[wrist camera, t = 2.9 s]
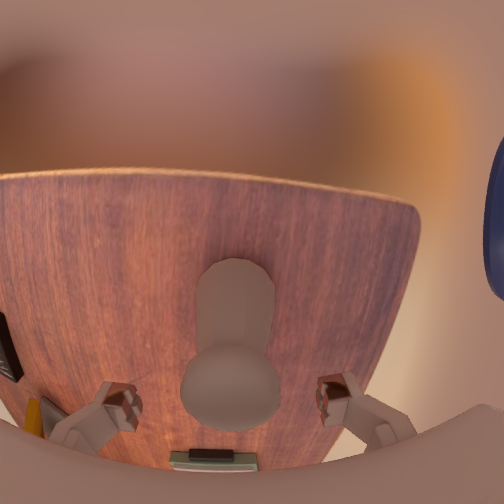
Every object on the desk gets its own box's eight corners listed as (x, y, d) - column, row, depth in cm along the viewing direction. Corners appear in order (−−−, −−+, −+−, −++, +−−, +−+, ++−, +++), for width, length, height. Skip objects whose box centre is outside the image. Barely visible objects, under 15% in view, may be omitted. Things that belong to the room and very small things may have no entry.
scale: (255, 448, 29) (256, 465, 27) (260, 482, 33) (260, 495, 31) (168, 447, 29) (165, 462, 27) (190, 481, 33) (188, 494, 31)
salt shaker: (256, 323, 23) (267, 455, 11) (192, 302, 22) (151, 429, 10) (283, 262, 21) (328, 380, 9) (213, 238, 21) (172, 340, 8)
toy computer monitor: (40, 383, 26) (-9, 457, 11) (85, 412, 27) (46, 496, 12) (45, 434, 31) (18, 489, 16) (79, 455, 32) (56, 513, 17)
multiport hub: (4, 314, 23) (-6, 322, 20) (24, 375, 26) (17, 384, 24) (-14, 304, 22) (-23, 312, 20) (6, 365, 26) (-1, 373, 23)
